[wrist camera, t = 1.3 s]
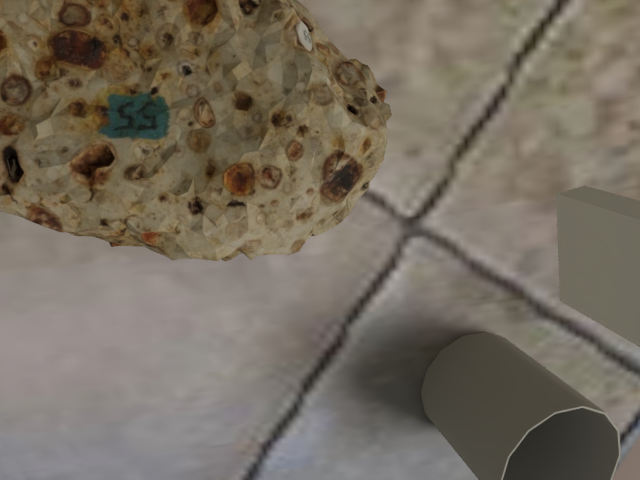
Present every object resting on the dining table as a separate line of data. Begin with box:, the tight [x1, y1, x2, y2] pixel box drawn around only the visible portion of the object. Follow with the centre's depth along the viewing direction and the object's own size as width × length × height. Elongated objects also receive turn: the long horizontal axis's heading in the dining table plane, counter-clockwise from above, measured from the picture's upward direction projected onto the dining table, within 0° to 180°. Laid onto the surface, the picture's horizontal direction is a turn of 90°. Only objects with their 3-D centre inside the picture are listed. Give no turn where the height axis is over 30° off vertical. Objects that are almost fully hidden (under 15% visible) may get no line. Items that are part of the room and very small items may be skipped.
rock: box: [0, 0, 391, 261], centre depth 27 cm, size 21×14×10 cm
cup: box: [421, 332, 621, 480], centre depth 37 cm, size 8×8×10 cm
